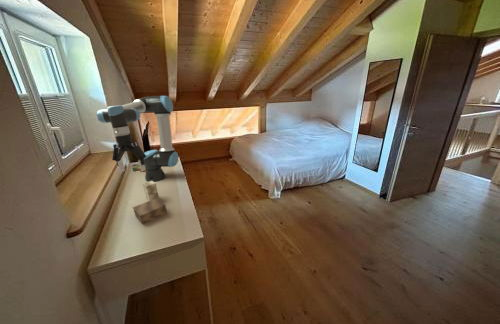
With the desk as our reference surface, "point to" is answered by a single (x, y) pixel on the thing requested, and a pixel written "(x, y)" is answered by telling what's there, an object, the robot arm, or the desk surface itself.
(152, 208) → the walnut box
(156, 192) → the oak block
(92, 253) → the desk surface
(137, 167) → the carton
